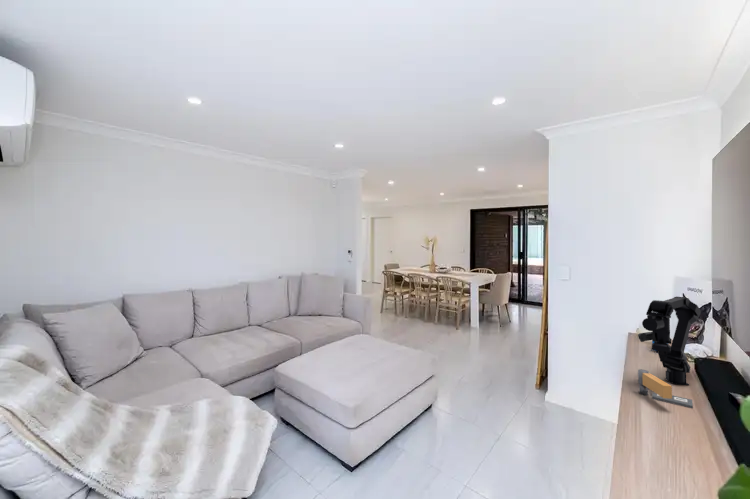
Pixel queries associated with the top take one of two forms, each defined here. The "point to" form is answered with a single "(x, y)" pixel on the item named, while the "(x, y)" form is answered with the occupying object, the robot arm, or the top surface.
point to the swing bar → (654, 384)
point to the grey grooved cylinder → (643, 390)
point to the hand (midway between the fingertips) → (662, 361)
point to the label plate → (674, 400)
